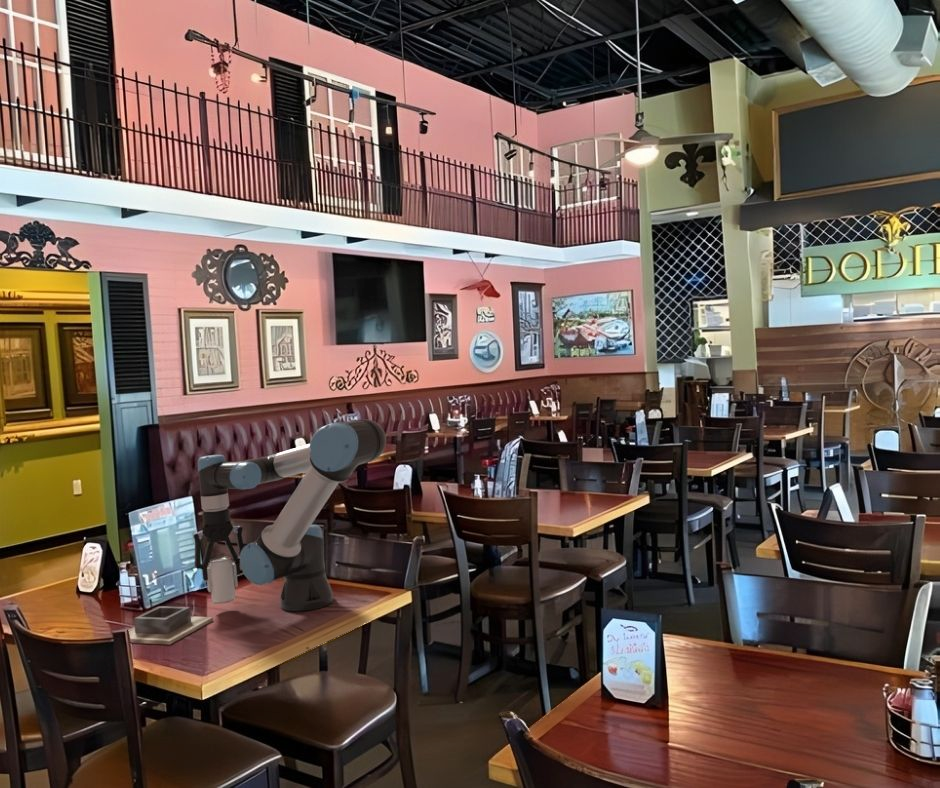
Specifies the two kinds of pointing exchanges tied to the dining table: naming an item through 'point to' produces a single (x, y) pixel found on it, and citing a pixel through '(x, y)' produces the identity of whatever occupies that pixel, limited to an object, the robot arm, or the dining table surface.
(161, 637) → the socket
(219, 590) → the can
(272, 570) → the robot arm
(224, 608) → the dining table surface
